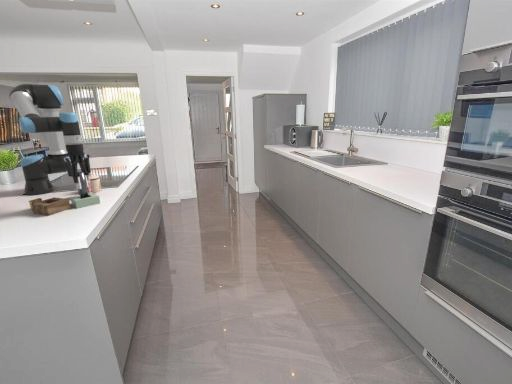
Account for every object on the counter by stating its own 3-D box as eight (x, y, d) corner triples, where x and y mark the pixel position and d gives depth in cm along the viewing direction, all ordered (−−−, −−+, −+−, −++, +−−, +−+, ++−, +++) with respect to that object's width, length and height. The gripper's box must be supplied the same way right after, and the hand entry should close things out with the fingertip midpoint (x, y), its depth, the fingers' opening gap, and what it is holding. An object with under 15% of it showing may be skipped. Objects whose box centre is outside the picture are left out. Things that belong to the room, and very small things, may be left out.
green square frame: (71, 203, 148) (70, 196, 147) (94, 199, 155) (92, 192, 154) (77, 208, 140) (75, 201, 139) (100, 203, 148) (98, 196, 147)
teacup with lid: (104, 191, 172) (100, 173, 169) (87, 194, 166) (84, 175, 163) (98, 187, 180) (95, 170, 177) (83, 190, 174) (79, 172, 171)
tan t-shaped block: (30, 208, 139) (28, 200, 138) (41, 205, 144) (39, 198, 142) (42, 210, 136) (40, 202, 135) (52, 207, 141) (51, 199, 140)
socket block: (33, 213, 134) (31, 203, 133) (55, 206, 144) (53, 197, 143) (49, 215, 131) (46, 205, 129) (70, 208, 141) (68, 199, 139)
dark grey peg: (80, 199, 147) (74, 172, 143) (88, 197, 150) (83, 171, 145) (82, 200, 145) (76, 173, 140) (90, 199, 147) (85, 172, 143)
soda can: (87, 199, 156) (82, 178, 153) (76, 198, 158) (72, 178, 154) (96, 195, 163) (92, 176, 160) (86, 195, 164) (82, 175, 161)
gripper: (63, 145, 130) (73, 192, 137) (93, 142, 145) (101, 184, 152) (52, 145, 133) (62, 191, 139) (83, 142, 148) (91, 183, 154)
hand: (82, 187), depth 145 cm, fingers closed on dark grey peg, 3 cm apart
